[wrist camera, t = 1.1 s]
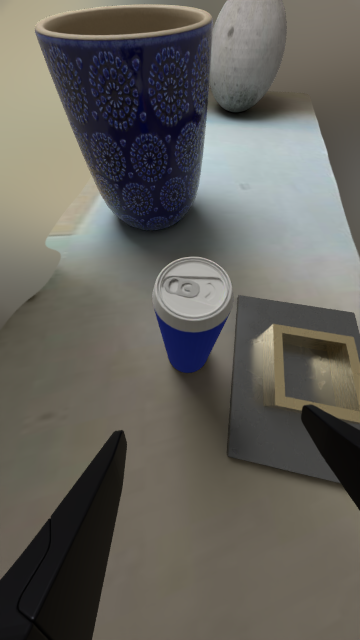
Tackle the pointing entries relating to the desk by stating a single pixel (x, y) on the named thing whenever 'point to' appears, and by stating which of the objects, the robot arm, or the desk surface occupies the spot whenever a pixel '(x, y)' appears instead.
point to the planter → (135, 102)
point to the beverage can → (191, 309)
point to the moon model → (246, 51)
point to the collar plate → (290, 381)
